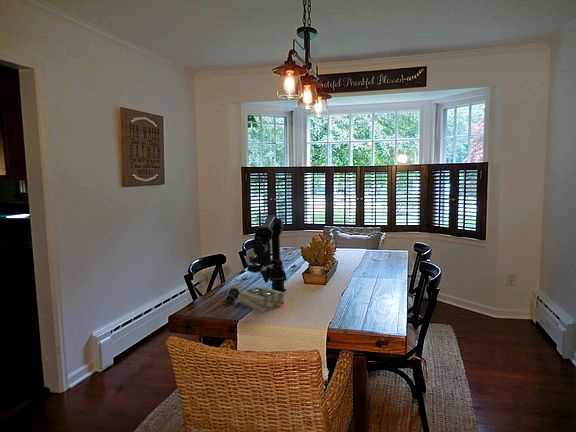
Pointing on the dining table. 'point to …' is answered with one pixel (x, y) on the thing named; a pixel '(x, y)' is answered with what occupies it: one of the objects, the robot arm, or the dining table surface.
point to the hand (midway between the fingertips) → (266, 282)
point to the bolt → (232, 296)
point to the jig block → (261, 298)
